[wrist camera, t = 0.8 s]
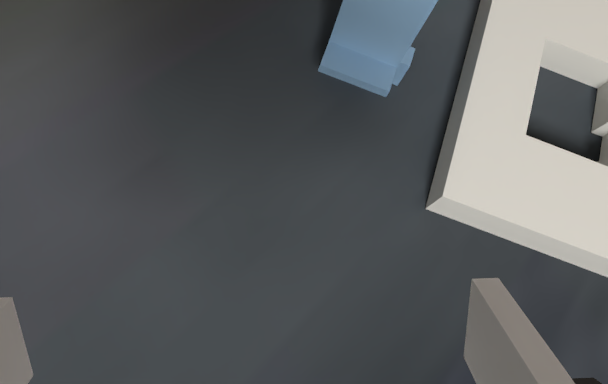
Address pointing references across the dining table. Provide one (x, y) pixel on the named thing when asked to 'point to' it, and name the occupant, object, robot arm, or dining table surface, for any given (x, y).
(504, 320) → the robot arm
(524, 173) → the frame
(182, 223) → the dining table surface
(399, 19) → the servo
